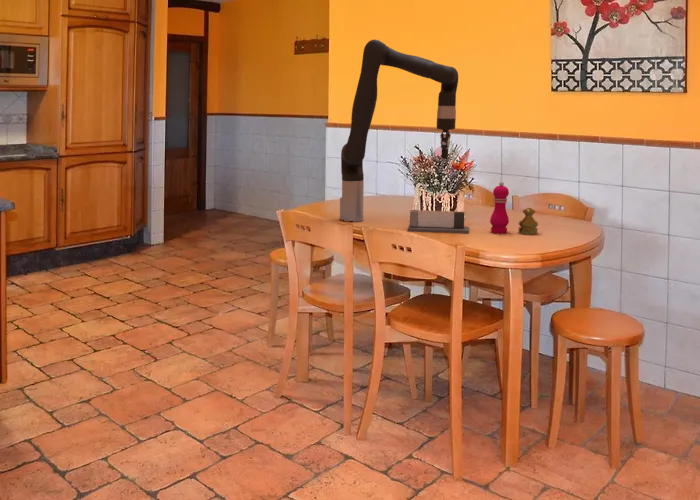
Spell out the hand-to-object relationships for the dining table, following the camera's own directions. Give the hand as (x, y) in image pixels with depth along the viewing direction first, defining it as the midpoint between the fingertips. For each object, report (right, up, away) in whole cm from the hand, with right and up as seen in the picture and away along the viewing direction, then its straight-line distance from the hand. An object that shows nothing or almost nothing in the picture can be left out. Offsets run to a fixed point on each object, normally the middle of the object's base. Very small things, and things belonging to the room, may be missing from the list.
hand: (444, 157), depth 286 cm
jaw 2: (-3, -29, -8) cm, 30 cm away
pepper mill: (+20, -31, -10) cm, 38 cm away
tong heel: (-13, -28, -5) cm, 31 cm away
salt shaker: (+31, -31, -11) cm, 46 cm away
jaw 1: (-2, -28, -6) cm, 29 cm away
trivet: (-3, -30, -7) cm, 31 cm away
